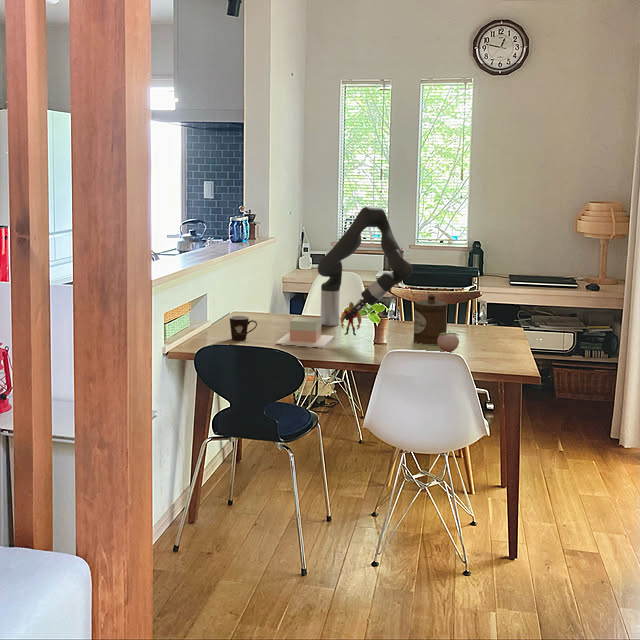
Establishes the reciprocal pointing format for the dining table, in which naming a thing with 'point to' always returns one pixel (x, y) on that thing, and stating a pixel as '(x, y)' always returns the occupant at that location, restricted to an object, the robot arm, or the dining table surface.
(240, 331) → the coffee mug
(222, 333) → the dining table surface
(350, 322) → the action figure
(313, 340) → the two-tone green pink block
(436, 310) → the wooden container
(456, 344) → the decorative fruit
